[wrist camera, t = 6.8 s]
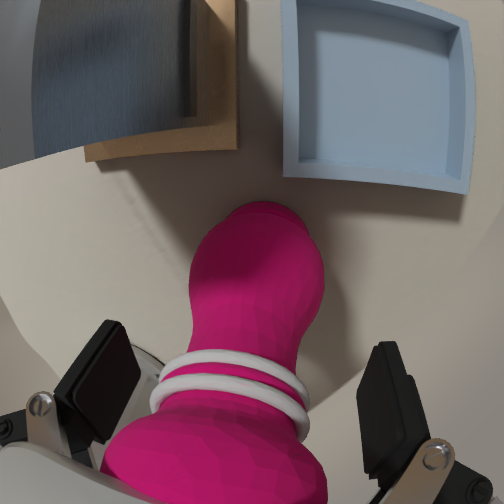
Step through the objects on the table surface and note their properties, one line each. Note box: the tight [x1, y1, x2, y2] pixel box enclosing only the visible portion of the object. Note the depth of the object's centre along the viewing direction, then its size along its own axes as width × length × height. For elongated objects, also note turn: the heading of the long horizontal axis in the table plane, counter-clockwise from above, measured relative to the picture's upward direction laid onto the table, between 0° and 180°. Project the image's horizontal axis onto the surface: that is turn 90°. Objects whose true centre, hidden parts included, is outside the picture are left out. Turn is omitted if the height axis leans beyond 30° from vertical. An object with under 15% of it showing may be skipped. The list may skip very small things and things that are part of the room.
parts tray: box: [281, 0, 475, 195], centre depth 13 cm, size 12×12×3 cm
